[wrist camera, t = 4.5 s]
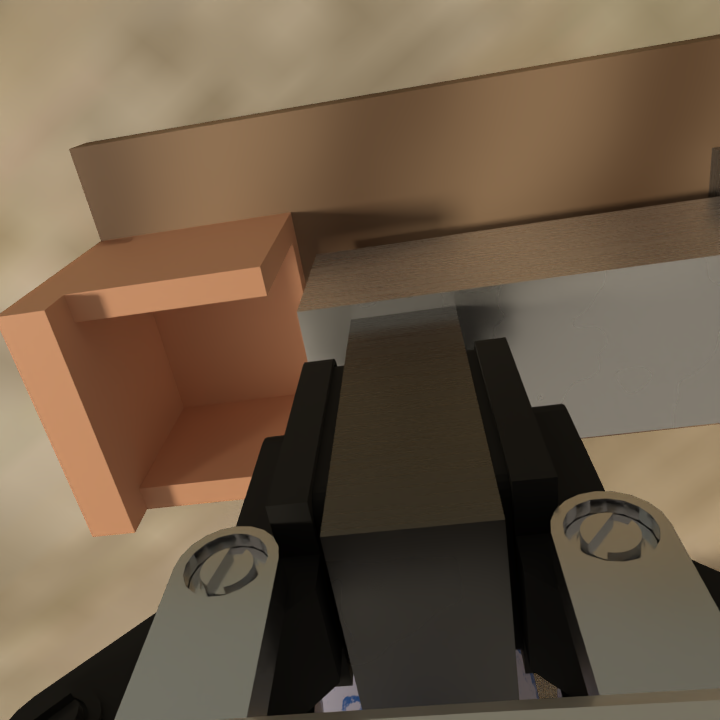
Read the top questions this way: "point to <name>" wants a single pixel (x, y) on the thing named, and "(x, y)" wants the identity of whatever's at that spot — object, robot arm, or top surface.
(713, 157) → the outer sleeve
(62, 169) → the top surface
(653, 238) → the square sliding rod
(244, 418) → the socket block
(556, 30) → the top surface
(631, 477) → the top surface
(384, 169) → the track board
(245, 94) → the top surface
